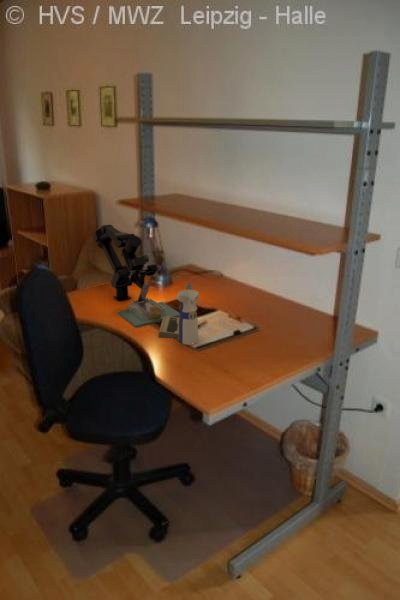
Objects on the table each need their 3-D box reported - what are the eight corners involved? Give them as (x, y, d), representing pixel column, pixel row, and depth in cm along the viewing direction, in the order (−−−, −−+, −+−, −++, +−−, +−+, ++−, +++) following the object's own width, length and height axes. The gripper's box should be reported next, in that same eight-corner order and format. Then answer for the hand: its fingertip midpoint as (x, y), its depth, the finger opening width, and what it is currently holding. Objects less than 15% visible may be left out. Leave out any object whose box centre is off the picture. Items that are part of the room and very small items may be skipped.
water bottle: (204, 341, 180) (204, 279, 171) (185, 346, 175) (184, 283, 167) (193, 333, 186) (192, 273, 177) (174, 338, 182) (172, 277, 173)
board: (117, 313, 206) (117, 311, 206) (161, 303, 217) (161, 301, 217) (135, 327, 192) (135, 325, 192) (181, 316, 203) (181, 314, 203)
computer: (179, 338, 183) (178, 331, 182) (158, 338, 183) (158, 330, 182) (182, 322, 198) (181, 315, 197) (162, 322, 198) (162, 315, 197)
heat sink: (129, 311, 206) (128, 299, 204) (151, 306, 212) (150, 294, 210) (144, 322, 194) (144, 310, 192) (168, 316, 200) (167, 304, 198)
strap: (138, 302, 206) (137, 300, 206) (144, 301, 208) (143, 299, 208) (144, 285, 197) (143, 283, 198) (150, 284, 199) (149, 282, 199)
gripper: (115, 252, 196) (128, 284, 191) (155, 246, 205) (168, 276, 200) (109, 266, 205) (121, 297, 200) (147, 259, 214) (160, 289, 209)
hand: (143, 289), depth 202 cm, fingers closed
